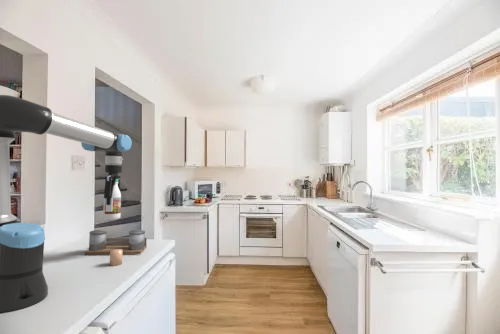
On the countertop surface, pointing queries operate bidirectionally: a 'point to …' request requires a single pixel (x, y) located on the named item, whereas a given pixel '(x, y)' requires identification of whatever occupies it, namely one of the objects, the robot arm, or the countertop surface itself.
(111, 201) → the robot arm
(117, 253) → the peach rounded cylinder
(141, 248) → the rack
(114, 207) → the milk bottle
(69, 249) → the countertop surface
